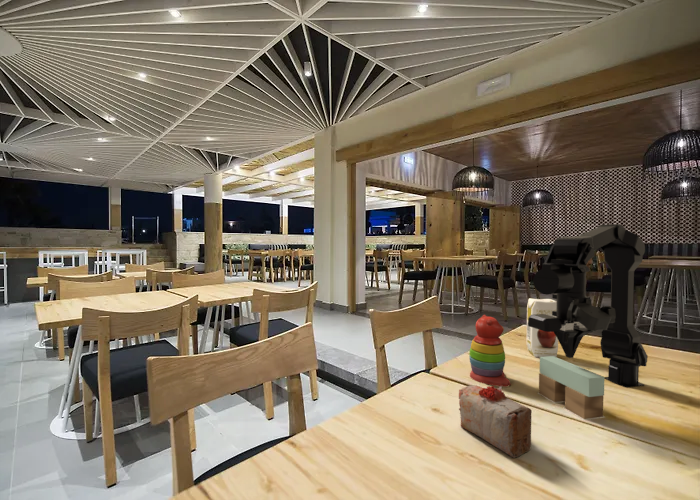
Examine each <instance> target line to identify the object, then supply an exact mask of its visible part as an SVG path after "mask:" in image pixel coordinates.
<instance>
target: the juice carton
mask: <svg viewBox="0 0 700 500" xmlns="http://www.w3.org/2000/svg"><path fill="white" fill-rule="evenodd" d="M556 301H557V300H554V299H553V298H552V299H551V298H540V299H539V298H531V297H530V298H528V302H527V307H526V348H527V352H528V351H529V352H530V354H531V355H532V356H533V358H540V357H547V356H554V357H557V355H558V352H559V340H558V339H557V337H556V335H555V334H554V332H545V331H542V330H539V329H536V328H533V327H530V326H528V318H529V317H530V316H531V315H533V314H545V315H549V316H553V315H552V311H556ZM553 317H556V318H557V316H553ZM529 352H528V353H529ZM557 358H558V357H557Z"/></svg>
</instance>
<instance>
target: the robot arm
mask: <svg viewBox="0 0 700 500" xmlns="http://www.w3.org/2000/svg"><path fill="white" fill-rule="evenodd" d="M596 250H599V251H601V252H602V254H603V257H604V259H603V260H604V262H605V264H606V265H607V266H608V268H609V269H610V270H611V272H610V273H611V276H610V277H611V279H610V281H611V283H610V285H611V286H610V287H611V288H610V305H606V306H605V305H603V306H602V307H600V306H594V305H593V304H592V299H591V297H590V296H587V295H586V294H587V293H586V292H587V272H590V268H589V266H588V265H587V264H588V263H589V261H590V260H592V258H594V257H595V251H596ZM645 253H646V245H645V243H644V242H643V240H642V238H641V237H640V236H639V235H638V234H635V233H633V232H632V231H630V230H627V229H626V228H625V227H624V225H622V224H619V223H614V224H609V223H607V224H601V225H598V226H597V227H596V228H594V229H591V230H589V231H587V232H584V233H582V234H580V235H578V236H567V237H566V236H565V237H557V238H556V239H554V241H553V243H552V245H551V246H550V249H549V251H548V254H547V255H546V258H545V260H544V262H543V263H542V265H541V266H542V267H541V269H539V270H538V271H537V272H536V273H535V274H534V276H533V279H532V282H533V286H534V287H535V290H536V291H538V292H539V293H540V294H543V295H546V296H547V295H552V300H554V299H555V301H556V311H552V315H553V316H557V318H556V317H553V316H549V315H545V314H533V315H531V316H530V317H529V318H528V326H530V327H533V328H536V329H539V330H542V331H545V332H554V334H555V335H556V337H557V339H558V343H559V344H560V346H561V349H562V351H563V352H564V355H565V357H567V359H568V358H569V359H573V358H574V356H575V354H576V351H577V349H578V347H579V345H580V343H581V340H583V337H584V336H587V335H589V334H591V333H593V332H596V331H601V330H602V331H601V339H600V349H601V355H602V358H604V359H608V360H609V361H608V363H609V364H608V371H607V372H608V376H604V377H605V378H604V380H606V381H608V382H610V383H611V382H612V383H613V384H617V385H618V386H620V387H623V388H626V389H627V388H635V387H637V388H638V387H644V386H645V384H644V383H642V382H640V381H639V372H640V369H639V368H640V367H647V362H648V354H647V352H646V350H645V348H644V347H643V344H642V343H641V335H640V334H639V332H638V330H637V329H636V327H635V326H634V324H633V323H634V287H635V286H634V285H635V284H634V283H635V278H634V277H635V270H636V269H638V267H639V266H640V265H641V263H642V262H643V258H644V257H643V256H644V255H645Z"/></svg>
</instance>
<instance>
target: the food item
mask: <svg viewBox="0 0 700 500" xmlns="http://www.w3.org/2000/svg"><path fill="white" fill-rule="evenodd" d="M502 388H503V386H498V387H497V388H496V387H495V386H494V385H489V386H486V388H485V387H481V386H478V385H475V384H474V385H473V384H472V385H466V386H465V387H464V386H463V387H462V388H460V389H458V399H459V403H458V404H459V408H458V410H459V414H460V415H459V416H460V427H461V428H462V429H465V430H467V431H468V432H470V433H472V434H474V435H475V436H477V437H480V438H481V439H483V440H484V441H485V442H487V443H489V444H491V445H492V446H493V447H495V448H497V449H499V450H500V451H502V452H504V453H505V454H507V455H508V456H510V457H512V458H513V459H514V458H517V457H518V458H519V457H521V456H522V455H523V454H525V453H528V452H530V450H531V449H532V409H531V408H529V407H528V406H525V405H523V404H521V403H520V402H517V401H516V400H515V401H514V400H513V399H510V398H509V397H506V395H505V393H504V392H503V391H502V390H503V389H502Z"/></svg>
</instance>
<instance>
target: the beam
mask: <svg viewBox="0 0 700 500" xmlns="http://www.w3.org/2000/svg"><path fill="white" fill-rule="evenodd" d="M539 373H541V374H543V375H545V376H547V377H549V378H551V379H553V380H555V381H557V382H559V383H561V384H563V385H565V386H567V387H570V388H572V389H574V390H576V391H578V392H580V393H582V394H584V395H586V396H588V397H594V396H603V395H604V396H605V379H604V378H605V377H606V376H602V375H600V374H599V373H596V372H594V371H591V370H589V369H586V368H584V367H581V366H578V365H577V364H573V363H571V362H569V361H567V360H564V359H561V358H559V357H554V356H547V357H539ZM604 396H603V397H604Z"/></svg>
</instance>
